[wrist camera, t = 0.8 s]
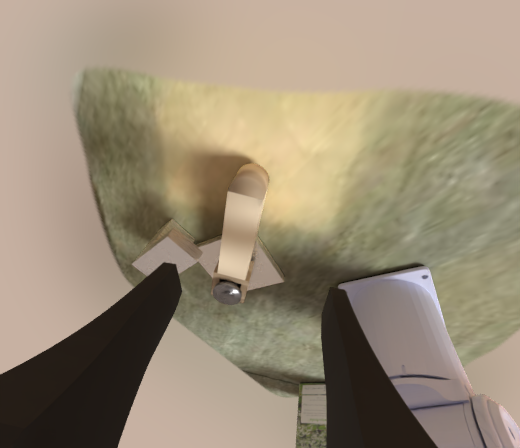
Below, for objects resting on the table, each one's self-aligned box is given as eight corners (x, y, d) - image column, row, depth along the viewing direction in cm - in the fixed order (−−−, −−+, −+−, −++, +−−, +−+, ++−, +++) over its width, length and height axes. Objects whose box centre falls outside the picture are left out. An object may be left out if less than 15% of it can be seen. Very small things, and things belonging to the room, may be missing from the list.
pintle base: (284, 276, 26) (279, 312, 23) (229, 289, 29) (217, 324, 26) (250, 224, 23) (238, 257, 20) (192, 245, 26) (173, 277, 23)
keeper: (217, 223, 24) (197, 262, 20) (183, 247, 27) (159, 285, 23) (193, 201, 23) (167, 236, 19) (160, 228, 26) (131, 264, 22)
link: (249, 283, 26) (243, 303, 24) (218, 275, 26) (210, 294, 24) (277, 169, 19) (272, 185, 17) (234, 158, 19) (224, 173, 17)
